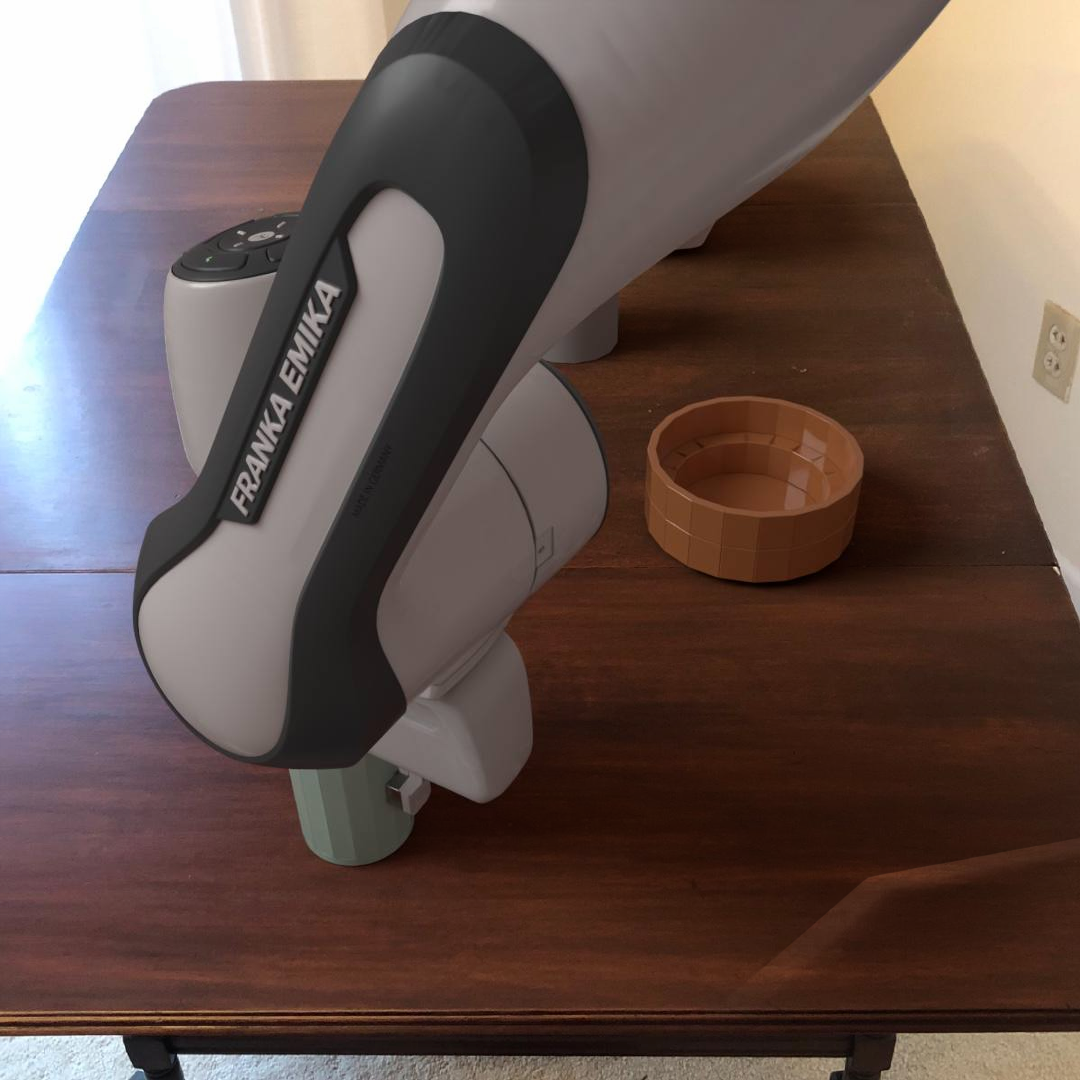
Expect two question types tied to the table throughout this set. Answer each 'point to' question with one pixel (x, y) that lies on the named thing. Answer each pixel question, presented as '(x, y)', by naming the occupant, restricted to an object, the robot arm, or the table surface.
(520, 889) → the table surface
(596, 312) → the cup
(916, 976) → the table surface
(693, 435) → the brown bowl
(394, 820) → the tumbler
